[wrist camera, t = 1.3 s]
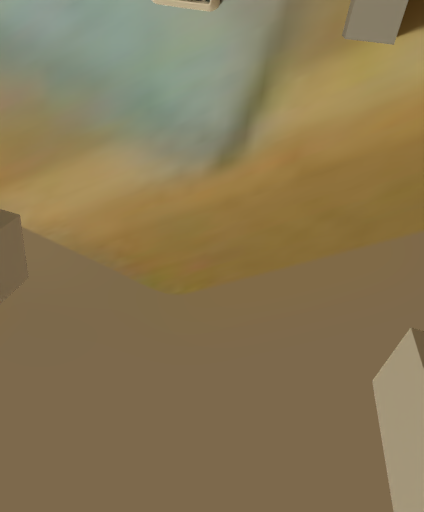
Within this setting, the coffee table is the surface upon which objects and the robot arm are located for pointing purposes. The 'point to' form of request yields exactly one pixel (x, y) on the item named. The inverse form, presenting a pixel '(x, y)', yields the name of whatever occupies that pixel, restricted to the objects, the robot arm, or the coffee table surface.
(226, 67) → the coffee table surface
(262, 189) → the coffee table surface
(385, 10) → the grey brick
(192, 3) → the toy car
